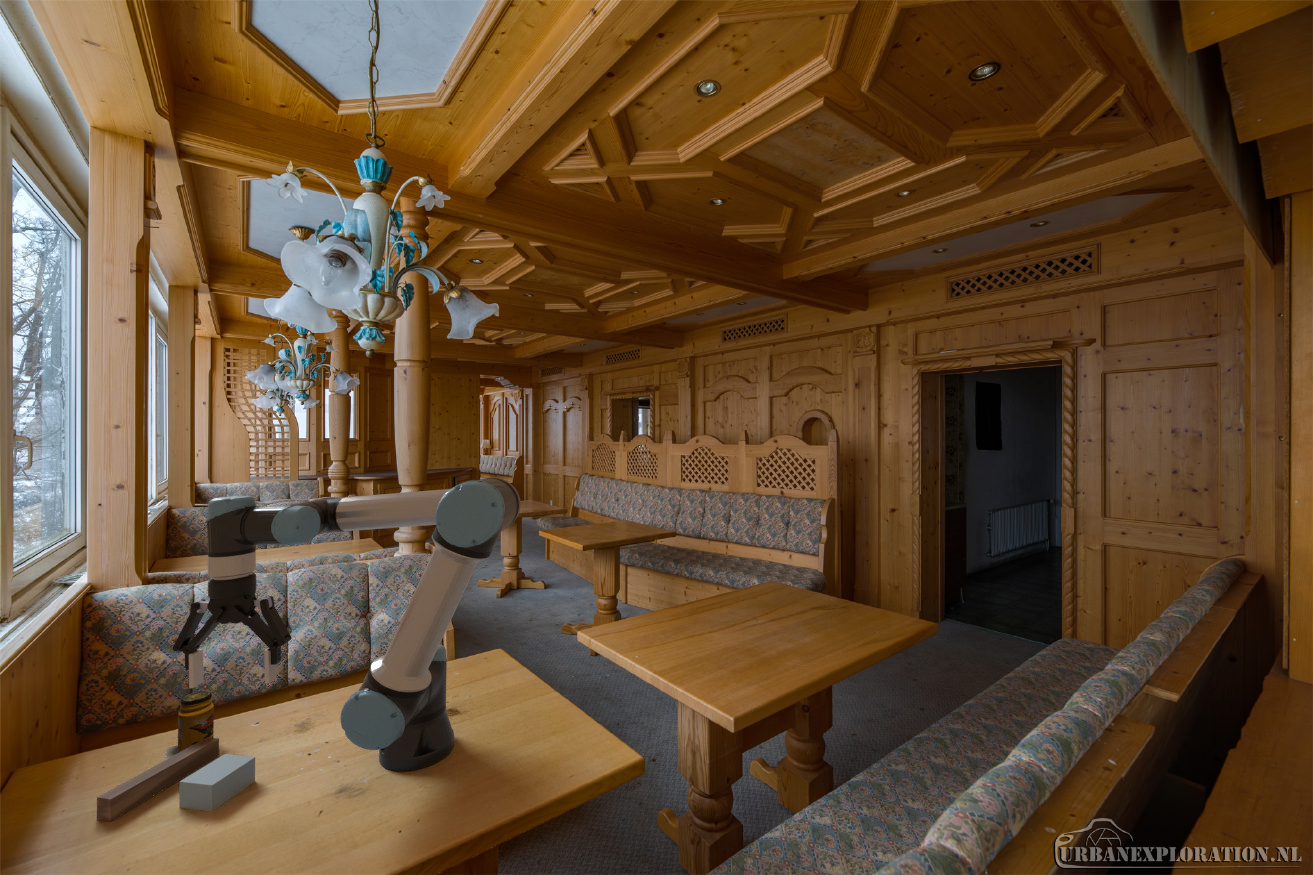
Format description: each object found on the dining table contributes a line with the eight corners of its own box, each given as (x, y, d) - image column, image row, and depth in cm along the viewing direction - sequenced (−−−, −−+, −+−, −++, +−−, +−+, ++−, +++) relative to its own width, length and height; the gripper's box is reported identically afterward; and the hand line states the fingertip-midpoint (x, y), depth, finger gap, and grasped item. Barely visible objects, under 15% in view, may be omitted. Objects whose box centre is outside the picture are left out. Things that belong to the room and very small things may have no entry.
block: (254, 781, 108) (255, 756, 108) (211, 812, 100) (212, 785, 100) (224, 778, 109) (224, 753, 109) (179, 808, 101) (179, 781, 101)
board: (218, 757, 116) (219, 738, 116) (110, 821, 97) (110, 799, 97) (207, 755, 117) (207, 737, 117) (96, 819, 97) (96, 797, 97)
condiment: (213, 752, 118) (213, 697, 118) (161, 765, 113) (162, 708, 114) (217, 737, 124) (218, 685, 124) (168, 748, 120) (169, 694, 120)
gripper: (309, 567, 112) (311, 670, 112) (178, 573, 109) (179, 678, 109) (289, 576, 104) (290, 687, 104) (147, 582, 101) (148, 695, 101)
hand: (233, 682), depth 106 cm, fingers open, 13 cm apart
